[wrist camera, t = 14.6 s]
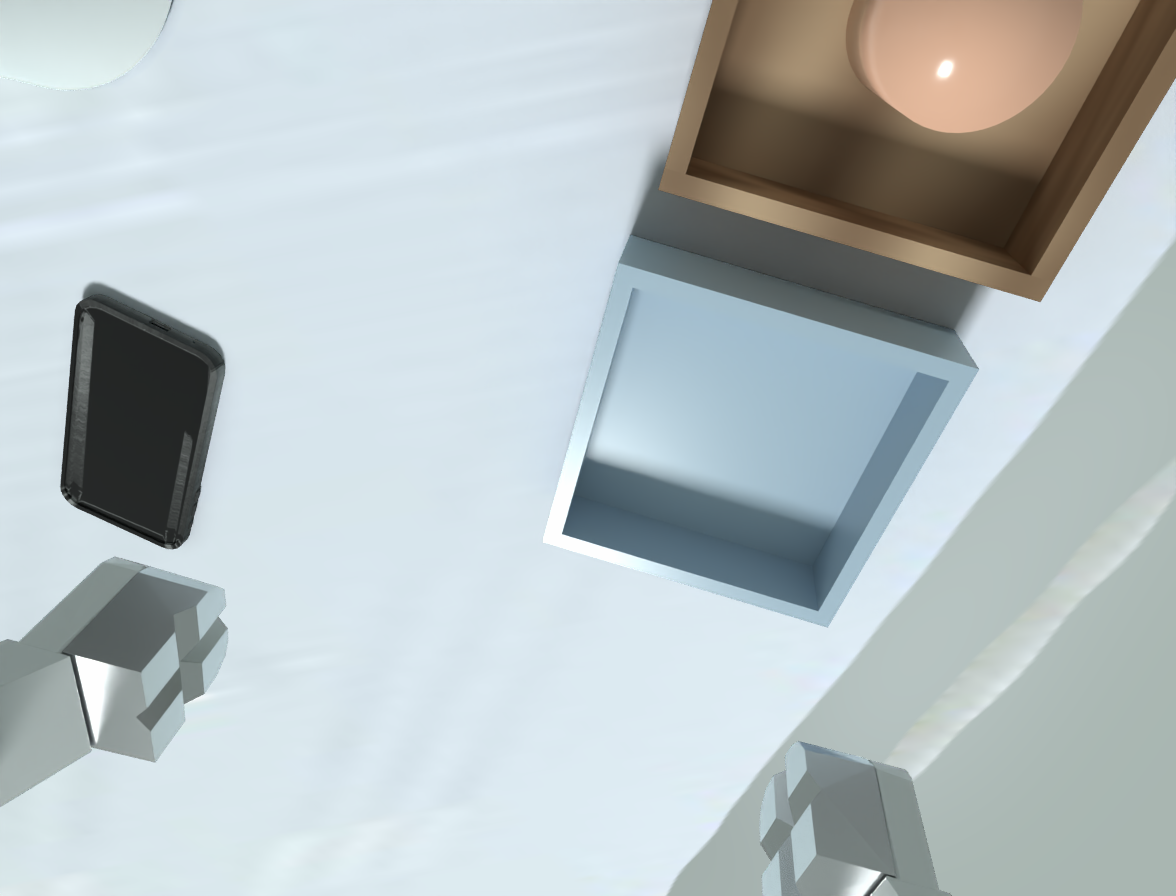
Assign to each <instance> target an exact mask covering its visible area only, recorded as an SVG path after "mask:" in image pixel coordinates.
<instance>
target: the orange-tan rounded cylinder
mask: <svg viewBox="0 0 1176 896" xmlns="http://www.w3.org/2000/svg"><path fill="white" fill-rule="evenodd" d="M1082 8H1083V0H854V2H853V5H852V7H851V10H850V13H849V17H848V21H847V27H846V50H847V55H848V59H849V62H850V65H851V68H852V70H853V71H854V73H855V75H856V77H857V78H858V79H859V81H860V82H861V83H862V84H863V85H864V86H865V87H866V88H867V89H868V90H869V91H870V92H872V93H873V94H875V95H876V96H877V97H879V98H880V99H882V100H883V101H885V102H886V103H888V104H889V105H890V106H892V107H893V108H895V109H896V110H898V111H899V112H900V113H902V114H903V115H905V116H906V117H908V118H909V119H911V120H912V121H913V122H915V123H917V124H919V125H921V126H923V127H926V128H929V129H932V130H935V131H940V132H946V133H965V132H973V131H978V130H982V129H986V128H989V127H992V126H995V125H997V124H999V123H1002V122H1004V121H1006V120H1008V119H1010V118H1011V117H1013V116H1015V115H1016V114H1018V113H1020V112H1021V111H1023V110H1024V109H1025V108H1027V107H1028V106H1029V105H1030V104H1032V103H1033V102H1034V101H1035V100H1036V99H1037V98H1038V97H1039V96H1041V95H1042V94H1043V93H1044V92H1045V90H1046V89H1047V88H1048V87H1049V86H1050V85H1051V84H1052V82H1053V81H1054V80H1055V78H1056V77H1057V76H1058V74H1059V73H1060V71H1061V70H1062V68H1063V67H1064V65H1065V63H1066V61H1067V59H1068V58H1069V56H1070V54H1071V51H1072V49H1073V46H1074V44H1075V42H1076V38H1077V35H1078V32H1079V28H1080V23H1081V17H1082Z"/></svg>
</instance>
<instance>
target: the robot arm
mask: <svg viewBox="0 0 1176 896" xmlns="http://www.w3.org/2000/svg"><path fill="white" fill-rule="evenodd" d="M171 2H172V0H0V78H5V79H10V80H15V81H19V82H23V83H27V84H31V85H35V86H39V87H43V88H48V89H55V90H84V89H90V88H95V87H98V86H102V85H105V84H107V83H110V82H112V81H114V80H116V79H118V78H120V77H121V76H123V75H124V74H126V73H127V72H129V71H130V70H131V69H132V68H134V67H135V66H136V65H137V64H138V63H139V62H140V61H141V60H142V59H143V58H144V57H145V55H146V54H147V53H148V52H149V50H150V49H151V47H152V46H153V44H154V43H155V41H156V40H157V38H158V36H159V34H160V32H161V30H162V28H163V26H164V23H165V21H166V18H167V15H168V12H169V9H170V6H171ZM225 607H226V599H225V591H224V589H223V588H220V587H218V586H214V585H211V584H208V583H204V582H201V581H198V580H194V579H191V578H188V577H184V576H181V575H177V574H174V573H171V572H167V571H164V570H161V569H157V568H154V567H151V566H146V565H143V564H139V563H136V562H132V561H129V560H125V559H122V558H118V557H113V558H111V559H109V560H106V561H104V562H102V563H101V564H100V565H98V566H97V567H96V568H95V569H94V570H93V571H92V572H91V573H90V574H89V575H88V576H87V577H86V578H85V579H84V580H83V581H82V582H81V583H80V584H79V585H77V586H76V587H75V588H74V589H73V590H72V591H71V592H70V593H69V594H68V595H67V596H66V597H65V598H64V599H63V600H62V601H61V602H60V603H59V604H58V605H56V606H55V607H54V608H53V609H52V610H51V611H50V612H49V613H48V614H47V615H46V616H45V617H44V618H43V619H42V620H41V621H40V622H39V623H38V624H37V625H35V626H34V627H33V628H32V629H31V630H30V631H29V632H28V633H27V634H26V635H25V636H24V637H23V638H22V639H21V640H20V641H19V642H17V641H13V640H9V639H6V640H4V641H1V642H0V807H1V806H3V805H5V804H6V803H8V802H10V801H11V800H13V799H14V798H16V797H18V796H19V795H21V794H23V793H24V792H26V791H28V790H29V789H31V788H32V787H34V786H36V785H37V784H39V783H41V782H42V781H44V780H46V779H47V778H49V777H50V776H52V775H54V774H55V773H57V772H59V771H60V770H62V769H64V768H65V767H67V766H68V765H70V764H72V763H73V762H75V761H77V760H78V759H80V758H82V757H83V756H85V755H86V754H88V753H90V752H91V751H92V749H91V747H93V748H97V749H101V750H105V751H109V752H113V753H118V754H122V755H126V756H130V757H134V758H138V759H143V760H147V761H151V762H156V761H157V759H158V758H159V757H160V755H161V754H162V752H163V751H164V750H165V748H166V747H167V745H168V744H169V743H170V741H171V740H172V739H173V737H174V736H175V734H176V733H177V732H178V730H179V729H180V727H181V726H182V725H183V723H184V722H185V712H184V704H185V703H187V702H189V701H191V700H193V699H195V698H197V697H199V696H201V695H203V694H205V692H206V691H207V689H208V688H209V686H210V685H211V683H212V682H213V681H214V679H215V678H216V676H217V674H218V671H219V669H220V667H221V665H222V662H223V660H224V658H225V655H226V649H227V644H228V628H227V627H226V626H225V624H224V623H223V622H222V621H221V619H220V618H219V617H218V616H219V615H220V614H221V612H222V611H223V610H224V608H225ZM785 764H786V770H785V771H783V772H780V773H778V774H775V775H774V776H773V777H772V779H771V781H770V783H769V785H768V787H767V788H766V791H765V795H764V798H763V802H762V807H761V814H760V844H761V846H762V847H763V849H764V851H765V852H766V854H767V855H768V857H769V859H770V860H771V862H770V864H769V866H768V867H767V869H766V870H765V872H764V873H763V875H762V892H763V896H952V895H951V894H950V893H947V892H944V891H941V890H939V888H938V883H937V880H936V875H935V871H934V867H933V864H932V859H931V855H930V851H929V847H928V843H927V839H926V835H925V831H924V827H923V823H922V819H921V815H920V811H919V807H918V803H917V798H916V794H915V790H914V786H913V782H912V778H911V776H910V775H909V774H908V772H907V771H906V770H905V769H901V768H897V767H894V766H890V765H886V764H882V763H879V762H875V761H871V760H867V759H865V758H862V757H858V756H855V755H851V754H847V753H843V752H839V751H835V750H831V749H827V748H823V747H819V746H815V745H811V744H807V743H803V742H799V741H798V742H796V743H795V744H793V745H792V746H791V747H790V749H789V750H788V752H787V754H786V755H785Z"/></svg>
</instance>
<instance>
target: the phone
mask: <svg viewBox="0 0 1176 896" xmlns="http://www.w3.org/2000/svg"><path fill="white" fill-rule="evenodd" d="M152 322H153V323H155V324H157V325H159V326H161V327H163V328H165V329H167V330H168V331H165V330H163V329H161V328H159V327H157V326H155V325H153V324H151V323H152ZM193 341H194V342H195V343H193ZM224 376H225V365H224V361H223V359H222V358H221V356H220V355H219V354H218V353H217V351H216V350H215V349H213V348H212V347H210V346H208V345H206V344H204V343H202V342H200V341H198V340H196V339H194V338H192V337H190V336H188V335H186V334H184V333H182V332H180V331H178V330H176V329H174V328H171V327H169V326H167V325H165V324H163V323H161V322H159V321H157V320H155V319H153V318H151V317H149V316H147V315H145V314H143V313H141V312H139V311H136V310H134V309H132V308H130V307H128V306H126V305H124V304H122V303H120V302H118V301H116V300H114V299H112V298H110V297H107V296H104V295H93V296H90V297H88V298H86V299H84V300H82V301H80V302H79V303H78V304H77V305H76V309H75V316H74V328H73V340H72V353H71V365H70V377H69V389H68V401H67V413H66V425H65V437H64V449H63V462H62V474H61V486H60V487H61V492H62V494H63V496H64V498H65V499H66V500H67V501H68V502H69V503H70V504H71V505H73V506H74V507H76V508H78V509H80V510H82V511H85V512H87V513H89V514H91V515H93V516H95V517H98V518H100V519H102V520H104V521H106V522H108V523H111V524H113V525H115V526H117V527H119V528H122V529H124V530H126V531H128V532H130V533H132V534H135V535H137V536H139V537H141V538H143V539H145V540H148V541H150V542H152V543H154V544H156V545H159V546H161V547H163V548H166V549H176V548H178V547H180V546H181V545H182V544H183V543H184V542H185V541H186V540H187V539H188V537H189V535H190V531H191V527H192V522H193V517H194V515H195V510H196V505H197V504H196V503H197V501H198V498H199V493H200V491H199V490H200V485H201V481H202V476H203V471H204V467H205V462H206V458H207V453H208V449H209V444H210V440H211V435H212V430H213V426H214V421H215V417H216V412H217V408H218V403H219V399H220V394H221V389H222V385H223V380H224Z"/></svg>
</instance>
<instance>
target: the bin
mask: <svg viewBox="0 0 1176 896" xmlns="http://www.w3.org/2000/svg"><path fill="white" fill-rule="evenodd" d="M978 370H979V368H978V367H977V365H976V364H975V362H974V360H973V359H972V357H971V356H970V354H969V353H968V351H967V349H966V348H965V346H964V345H963V343H962V342H961V340H960V338H959V337H958V335H957V334H956V332H955V331H954V330H952V329H948V328H945V327H942V326H938V325H935V324H931V323H928V322H925V321H921V320H918V319H914V318H911V317H908V316H904V315H901V314H897V313H894V312H891V311H887V310H884V309H881V308H877V307H874V306H870V305H867V304H864V303H860V302H857V301H853V300H850V299H847V298H843V297H840V296H836V295H833V294H830V293H826V292H823V291H819V290H816V289H813V288H809V287H806V286H802V285H799V284H796V283H792V282H789V281H785V280H782V279H779V278H775V277H772V276H769V275H765V274H762V273H758V272H755V271H752V270H748V269H745V268H741V267H738V266H735V265H731V264H728V263H724V262H721V261H718V260H714V259H711V258H707V257H704V256H701V255H697V254H694V253H690V252H687V251H684V250H680V249H677V248H673V247H670V246H667V245H663V244H660V243H656V242H653V241H650V240H646V239H643V238H640V237H636V236H633V235H630V237H629V239H628V242H627V244H626V246H625V249H624V251H623V254H622V256H621V258H620V261H619V263H618V267H617V270H616V274H615V278H614V281H613V285H612V289H611V292H610V296H609V300H608V303H607V307H606V311H605V314H604V318H603V322H602V325H601V329H600V333H599V336H598V340H597V344H596V347H595V351H594V355H593V358H592V362H591V366H590V369H589V373H588V377H587V380H586V384H585V388H584V391H583V395H582V399H581V402H580V406H579V410H578V413H577V417H576V421H575V424H574V428H573V432H572V435H571V439H570V443H569V446H568V450H567V454H566V457H565V461H564V465H563V468H562V472H561V476H560V479H559V483H558V487H557V490H556V494H555V498H554V501H553V505H552V509H551V512H550V516H549V520H548V523H547V527H546V531H545V534H544V538H543V542H545V543H548V544H551V545H555V546H558V547H561V548H565V549H568V550H571V551H575V552H578V553H581V554H585V555H588V556H591V557H595V558H598V559H601V560H605V561H608V562H611V563H615V564H618V565H621V566H625V567H628V568H631V569H635V570H638V571H641V572H645V573H648V574H651V575H655V576H658V577H661V578H665V579H668V580H671V581H675V582H678V583H681V584H685V585H688V586H691V587H695V588H698V589H701V590H705V591H708V592H711V593H715V594H718V595H721V596H725V597H728V598H731V599H735V600H738V601H741V602H745V603H748V604H751V605H755V606H758V607H761V608H765V609H768V610H771V611H774V612H778V613H781V614H784V615H788V616H791V617H794V618H798V619H801V620H804V621H808V622H811V623H814V624H818V625H821V626H824V627H828V626H829V624H830V623H831V621H832V619H833V618H834V616H835V614H836V613H837V611H838V609H839V607H840V606H841V604H842V602H843V601H844V599H845V597H846V595H847V594H848V592H849V590H850V589H851V587H852V585H853V584H854V582H855V580H856V578H857V577H858V575H859V573H860V572H861V570H862V568H863V566H864V565H865V563H866V561H867V560H868V558H869V556H870V555H871V553H872V551H873V549H874V548H875V546H876V544H877V543H878V541H879V539H880V537H881V536H882V534H883V532H884V531H885V529H886V527H887V526H888V524H889V522H890V520H891V519H892V517H893V515H894V514H895V512H896V510H897V509H898V507H899V505H900V503H901V502H902V500H903V498H904V497H905V495H906V493H907V491H908V490H909V488H910V486H911V485H912V483H913V481H914V480H915V478H916V476H917V474H918V473H919V471H920V469H921V468H922V466H923V464H924V462H925V461H926V459H927V457H928V456H929V454H930V452H931V451H932V449H933V447H934V445H935V444H936V442H937V440H938V439H939V437H940V435H941V434H942V432H943V430H944V428H945V427H946V425H947V423H948V422H949V420H950V418H951V416H952V415H953V413H954V411H955V410H956V408H957V406H958V405H959V403H960V401H961V399H962V398H963V396H964V394H965V393H966V391H967V389H968V387H969V386H970V384H971V382H972V381H973V379H974V377H975V376H976V374H977V372H978Z"/></svg>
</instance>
